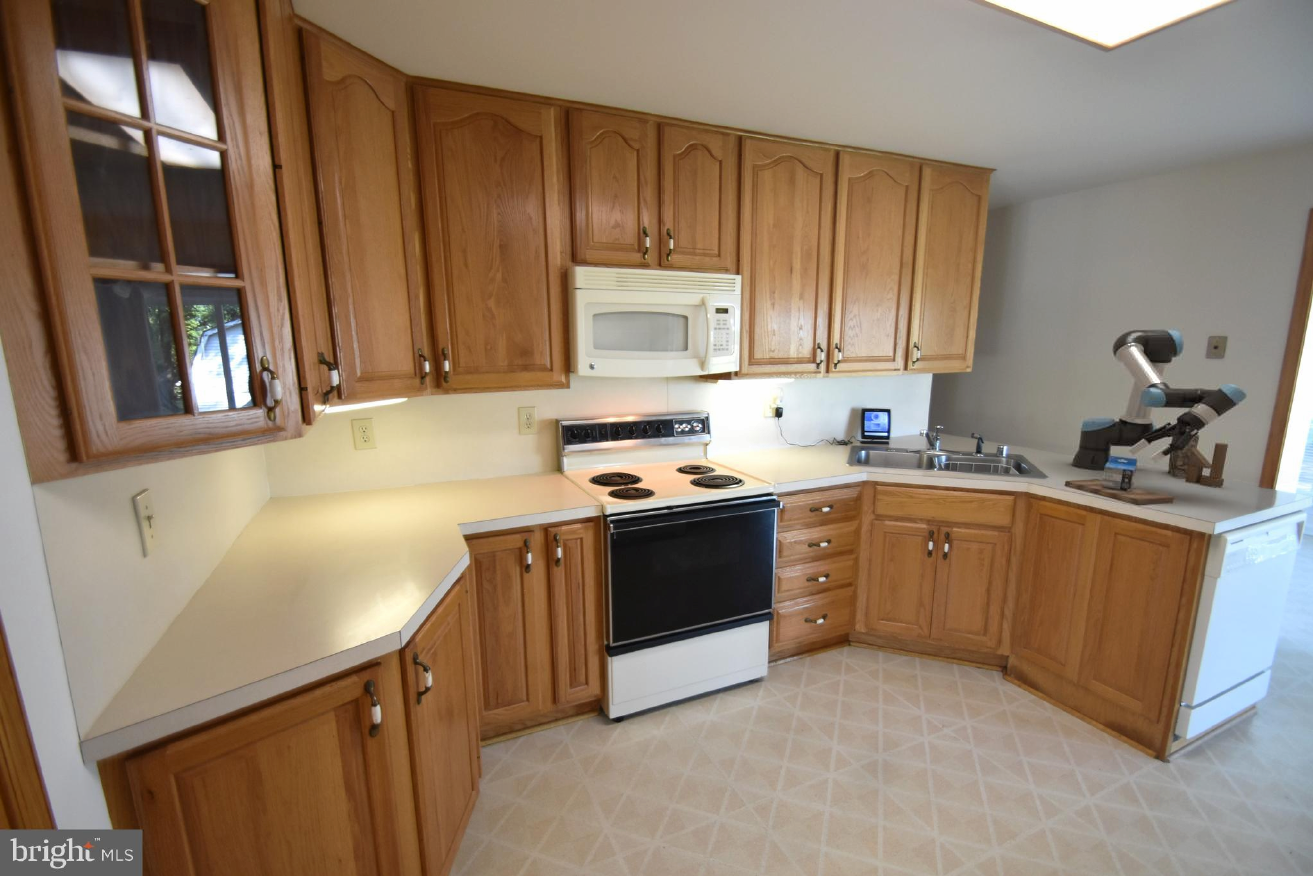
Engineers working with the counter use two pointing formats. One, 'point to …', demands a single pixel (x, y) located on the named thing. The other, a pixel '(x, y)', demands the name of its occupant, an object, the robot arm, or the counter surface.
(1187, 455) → the stone block
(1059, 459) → the counter surface
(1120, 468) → the label tape box
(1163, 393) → the robot arm
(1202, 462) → the wooden block
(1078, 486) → the walnut board
